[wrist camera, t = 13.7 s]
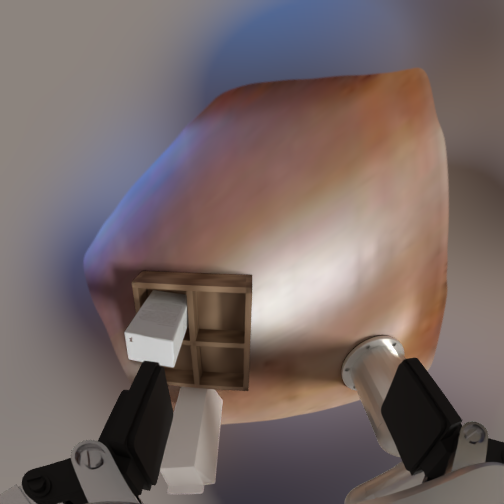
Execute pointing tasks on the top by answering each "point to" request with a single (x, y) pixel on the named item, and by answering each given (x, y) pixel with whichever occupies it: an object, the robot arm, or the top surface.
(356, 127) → the top surface
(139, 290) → the walnut caddy
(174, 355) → the skincare box
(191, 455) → the milk
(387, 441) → the robot arm
